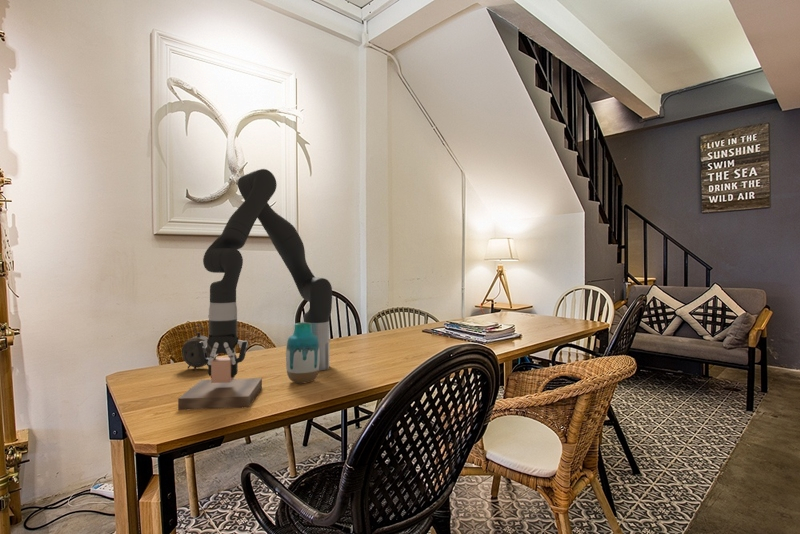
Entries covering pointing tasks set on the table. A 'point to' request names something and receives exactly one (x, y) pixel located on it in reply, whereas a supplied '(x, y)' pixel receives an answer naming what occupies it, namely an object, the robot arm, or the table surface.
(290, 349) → the vase
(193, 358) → the alarm clock
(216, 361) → the pink block
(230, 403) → the walnut base
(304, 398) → the table surface
